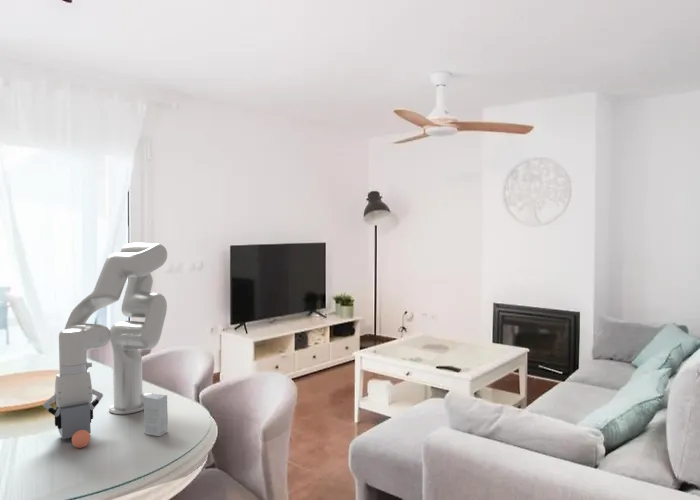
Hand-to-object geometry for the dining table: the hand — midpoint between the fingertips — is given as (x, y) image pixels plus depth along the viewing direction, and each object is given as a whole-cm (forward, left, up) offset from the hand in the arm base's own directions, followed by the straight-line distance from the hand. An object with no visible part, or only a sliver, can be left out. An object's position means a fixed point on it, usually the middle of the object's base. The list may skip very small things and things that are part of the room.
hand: (74, 424), depth 162 cm
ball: (0, +9, -2) cm, 9 cm away
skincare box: (-21, +12, -4) cm, 25 cm away
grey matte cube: (0, 0, -3) cm, 3 cm away
